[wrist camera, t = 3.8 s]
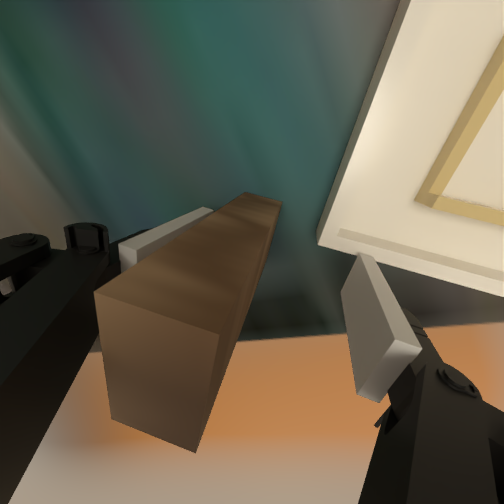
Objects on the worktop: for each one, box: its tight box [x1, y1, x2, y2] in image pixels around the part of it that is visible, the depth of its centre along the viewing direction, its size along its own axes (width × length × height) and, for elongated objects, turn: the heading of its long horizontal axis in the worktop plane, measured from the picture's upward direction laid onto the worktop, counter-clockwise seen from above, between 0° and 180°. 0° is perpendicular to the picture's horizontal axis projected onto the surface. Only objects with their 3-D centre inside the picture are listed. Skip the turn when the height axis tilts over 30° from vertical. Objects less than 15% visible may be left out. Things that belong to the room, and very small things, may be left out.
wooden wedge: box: [94, 192, 282, 453], centre depth 11 cm, size 3×5×12 cm, turn 167°
